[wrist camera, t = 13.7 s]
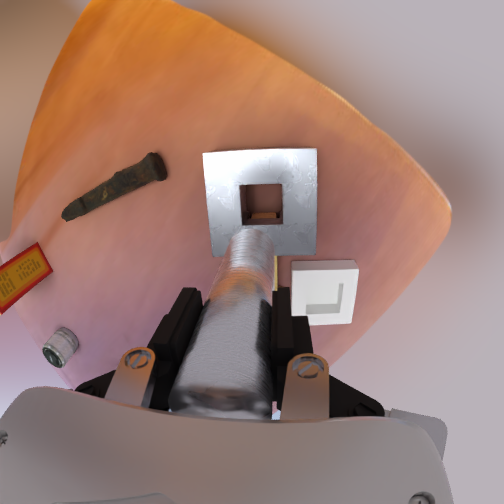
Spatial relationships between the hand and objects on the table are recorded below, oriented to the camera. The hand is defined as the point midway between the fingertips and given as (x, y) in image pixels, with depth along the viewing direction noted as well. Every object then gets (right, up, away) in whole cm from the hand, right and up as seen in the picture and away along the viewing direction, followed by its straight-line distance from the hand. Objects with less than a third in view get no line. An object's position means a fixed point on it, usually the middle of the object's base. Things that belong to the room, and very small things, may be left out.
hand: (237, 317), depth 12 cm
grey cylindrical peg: (+1, +3, +7) cm, 8 cm away
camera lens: (-40, -16, +39) cm, 58 cm away
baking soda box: (-43, 0, +32) cm, 54 cm away
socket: (+2, +10, +24) cm, 26 cm away
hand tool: (-20, +12, +25) cm, 34 cm away
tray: (+11, -2, +28) cm, 30 cm away
